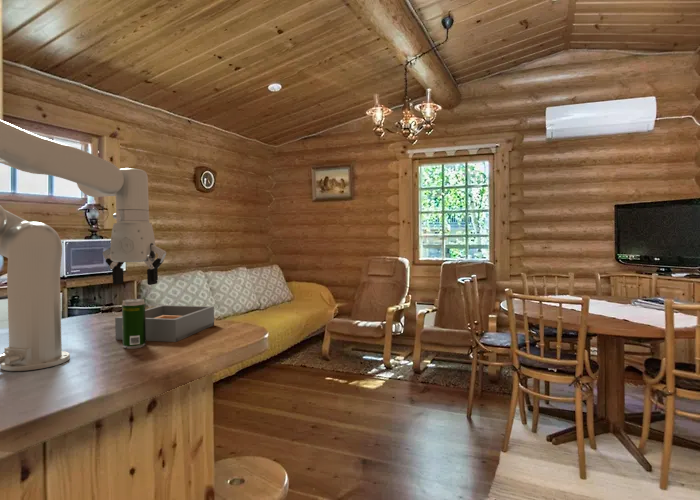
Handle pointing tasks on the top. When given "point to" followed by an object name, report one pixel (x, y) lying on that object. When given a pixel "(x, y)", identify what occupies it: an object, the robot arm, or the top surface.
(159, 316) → the walled box
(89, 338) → the top surface
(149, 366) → the top surface
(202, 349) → the top surface
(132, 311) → the beer can
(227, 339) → the top surface
